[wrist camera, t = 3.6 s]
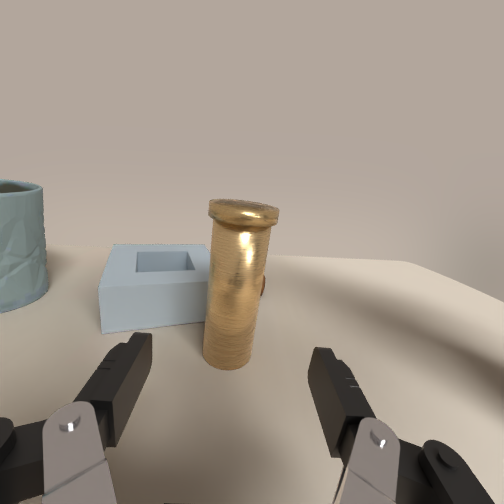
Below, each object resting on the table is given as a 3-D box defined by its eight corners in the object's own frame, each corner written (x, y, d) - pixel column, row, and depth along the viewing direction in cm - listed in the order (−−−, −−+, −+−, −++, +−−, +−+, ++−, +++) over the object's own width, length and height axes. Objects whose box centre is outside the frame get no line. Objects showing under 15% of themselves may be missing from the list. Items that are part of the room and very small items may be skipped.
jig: (202, 274, 38) (204, 244, 37) (223, 319, 28) (227, 280, 26) (115, 278, 33) (113, 244, 32) (101, 334, 23) (97, 287, 22)
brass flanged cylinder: (243, 329, 27) (261, 201, 22) (264, 366, 22) (292, 214, 17) (193, 337, 25) (202, 197, 20) (204, 379, 20) (219, 210, 15)
